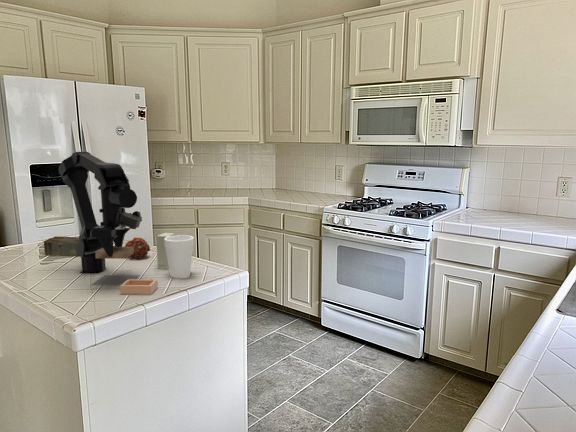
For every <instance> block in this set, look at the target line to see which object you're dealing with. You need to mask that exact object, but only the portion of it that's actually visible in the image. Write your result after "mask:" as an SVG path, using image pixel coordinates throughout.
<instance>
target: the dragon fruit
mask: <svg viewBox="0 0 576 432" xmlns="http://www.w3.org/2000/svg"><path fill="white" fill-rule="evenodd" d="M124 247H134V254H132V255H131V256H129V257H128V258H131V259H143V257H145V256H147V255H148V253H149V252H150V251H151V248H150V245H149V244H148V241H146V240H145V239H144V238H143V237H133V239H131V240H128V241H127V242H126V243H125V245H124Z"/></svg>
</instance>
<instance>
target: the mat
mask: <svg viewBox="0 0 576 432" xmlns="http://www.w3.org/2000/svg"><path fill="white" fill-rule="evenodd" d="M140 277H141V274H140V275H139V274H137V275H136V274H135V275H134V274H133V275H131V274H130V275H129V274H127V275H126V274H125V275H121V274H120V275H119V274H115V275H114V274H112V275H111V274H104V275H103V276H101V277H100V278H98V279H97V280H96V281H94V282H93V283H91V284H90V286H120V285H122V284H123V283H124V282H125V281H126V280H128V279H139V278H140Z"/></svg>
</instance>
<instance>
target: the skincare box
mask: <svg viewBox="0 0 576 432" xmlns="http://www.w3.org/2000/svg"><path fill="white" fill-rule="evenodd" d="M174 235H176V233H173V232H172V233H171V232H164V233H160V234H159V235H156V236H155V237H156V258H157V260H156V261H157V265H156V266H157V270H163V271H169V265H168V260H167V254H166V249H165V246H164V238H166V237H168V236H174Z"/></svg>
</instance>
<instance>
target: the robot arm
mask: <svg viewBox="0 0 576 432" xmlns="http://www.w3.org/2000/svg"><path fill="white" fill-rule="evenodd" d="M89 172H91V174H92V173H93V174H94V175H93V177H94V179H95V180H96V181H97V182H98V184H99V186H98V187H97V189H98V190H100V199H101V200H100V201H101V208H99V213H101V214H102V221H101V222H99V223H100V225H99V224H98V223H97V220H96V216H95V213H94V210H93V209H94V208H93V207H92V203H91V202H92V201H91V199H90V195H89V192H88V189H87V181H88V178H89ZM58 173H59V175H60V177H61V179H62V183H64V184H65V185H66V186H67V187H68V188H69V189H70V191H71V195H72V198H73V201H74V205H75V209H76V212H77V217H78V220H79V224H80V226H81V230H80V232H79V236H78V237H79V240H80V241H79V243H78V245H77V247H76V253H77V255H78V256H77V257H80V259H81V260H80V261H81V270H82V271H79V274H91V275H92V274H94V275H95V274H96V275H97V274H100V273H103V271H104V270H107V267H106V258H96V256H95V251H97V250H99V249H101V248H102V247H103V248H104V250H105V252H106V253H107V255H108V256H109V257H112V255H113V246H117V247H123V244H124V239H125V235H126V234H127V232H129V231H130V230H136V229H137V228H139V227H140V224H141V222H142V221H143V219H142V218H143V217H142V215H141V212H140V211H138V210H134V211H133V212H126V209H130V208H133V207H134V206H135V205H136V203H137V201H138V196H137V193H136V192H135V191H134V190H133V189H131V183H130V180H129V178H128V176H127V175H126V173H125V171H124V169H123V167H122V165H120V164H119V163H114V162H106V161H104V160H102V159H100V158H98V157H96V156H95V155H93V154H91V153H90V152H89V151H75V152H73V153H72V154H71V155H70V156H69V157H67V158H65V159H63V160H62V161H61V163H60V164H59V167H58Z"/></svg>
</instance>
